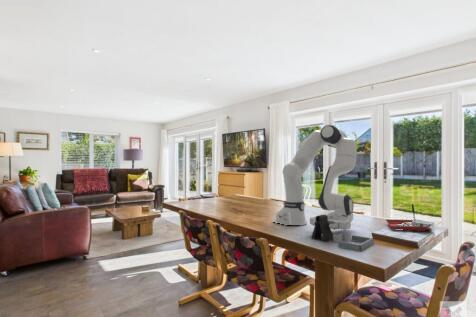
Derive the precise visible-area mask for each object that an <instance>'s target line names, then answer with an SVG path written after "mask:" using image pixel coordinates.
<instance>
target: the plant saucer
mask: <svg viewBox="0 0 476 317" xmlns="http://www.w3.org/2000/svg"><path fill="white" fill-rule="evenodd" d="M413 220H414V219H392V218H391V219H385V222H386V223H387V224H388V226H390V228H391V229H392V230H393V229H403V230H421V231H420V232H426V231H427V230H428V229H429V226H428V225H427V224H426V227H415V226H397V224H402V223H404V222H412V221H413ZM418 220H419V221H421V220H420V219H418Z"/></svg>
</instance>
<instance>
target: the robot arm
mask: <svg viewBox="0 0 476 317" xmlns="http://www.w3.org/2000/svg"><path fill="white" fill-rule="evenodd" d="M326 145H327V146H328V147H331V148H335V149H336V152H335V159H334V161H333V163H332V164H331V165H330V166H329V167H328V169H327V172H326V174H325V175H326V176H325V178H324V182H323V186H322V189H321V192H320V194H319V197H318V205H319V206H320V208H321V209H322V210H324V211H333V212H329V213H328V214H326V215H327V217H328V223H329V228H330V229H332V230H351V226H352V225H351V224H352V222H353V220H354V213H353V212H354V200H353V199H352V197H351V196H350V195H349V194H345V193H333V192H332V191H333V187H334V183H335V180H336V178H338V177H340V176H342V175H346V174H348V173H350V172H352V170H354V168H355V167H356V163H357V154H358V153H357V150H358V149H357V143H356V141H355V140H354V139H352V138H348V137H347V135H346V133H344V131H343V130H342V129H341V128H339V127H337V126H336V125H334V124H326V125H324V126H323V127H322V128H321V129H320V130H318V129H316V130H313V131H312V132H311V133H310V134H309V135H308V136H307V138H306V139H304V141H303V142H302V144H301V146H300V147H299V148H298V150H297V151H296V153H295V155H294V157H293V158H292V160H291V161H290V162H289V163H287V164H285V165H284V166H283V169H282V174H283V175H282V176H283V183H284V188H285V201H284V202H283V207H282V208H281V209H279V211H277V212H276V214H275V219H274V220H275V221H274V222H277V223H281V224H284V225H283V226H285V225H300V226H305V224H306V225H307V224H308V222H307V220H306V214H305V201H304V187H303V182H302V177H303V176H304V174H305V173H306V172H307V170H308V168H309V166H310V165H311V163H312V162H313V161H314V159H315V158H316V157H317V155H318V154H319V152H320V151H321V150H322V148H323V147H325V146H326ZM277 223H276V224H277ZM315 223H316V216H312V217H310V218H309V224H310V225H311V226H314V227H315ZM281 224H280V225H281Z"/></svg>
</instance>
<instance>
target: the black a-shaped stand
mask: <svg viewBox="0 0 476 317" xmlns="http://www.w3.org/2000/svg"><path fill="white" fill-rule="evenodd" d="M327 215H328V214H325V213H324V214H320V215H319V214H318V215H316V216H315V217H316V223H315V226H314V227H313V231H312V234H311V239H312V240H316V241H321V242H324V243H329V242H331V241H334V235H333V231H332V230H331V228H329V223H328V217H327Z"/></svg>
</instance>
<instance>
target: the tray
mask: <svg viewBox="0 0 476 317" xmlns="http://www.w3.org/2000/svg"><path fill="white" fill-rule="evenodd" d="M351 241H354V242H358V243H359V242H360V244H357V243H352V242H348V241H347V242H342V241H338V243H337V244H338V247H339V248H341V249H347V250H351V251H357V252H362V251H364V250H366V249H367V248H369V247H370V246H372V245H374V243H375V242H374V237H373V238H372V237H368V236H361V235H356V234H352V235H351Z"/></svg>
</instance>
